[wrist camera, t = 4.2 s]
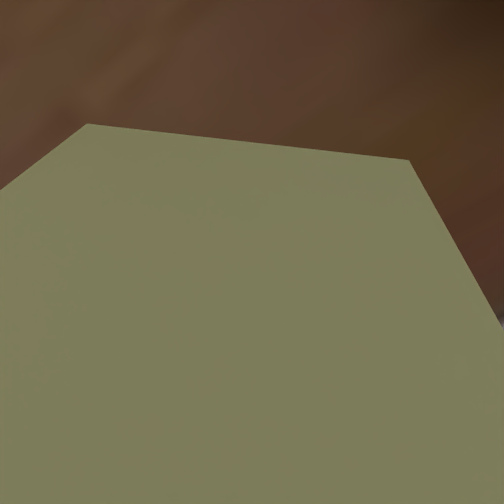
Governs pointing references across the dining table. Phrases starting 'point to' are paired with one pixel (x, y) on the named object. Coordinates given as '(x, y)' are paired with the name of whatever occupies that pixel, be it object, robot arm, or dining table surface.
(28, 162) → the dining table surface
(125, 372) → the green block
